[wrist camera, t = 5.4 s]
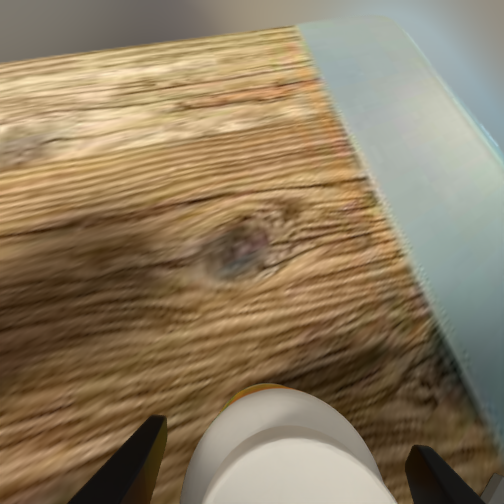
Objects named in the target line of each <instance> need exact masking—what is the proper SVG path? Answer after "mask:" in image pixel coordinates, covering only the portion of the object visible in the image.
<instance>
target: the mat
mask: <svg viewBox="0 0 504 504" xmlns="http://www.w3.org/2000/svg"><path fill="white" fill-rule="evenodd" d="M480 498H481V499H482V500H483V501H484V502H485V503H486V504H504V477H503V476H501V475H498V474H496V473H494V474H493V476H492V478H491V480H490V481H489V483H488V485H487V487H486V488H485V490H484V492H483V494H482V495H481V497H480Z"/></svg>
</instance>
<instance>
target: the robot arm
mask: <svg viewBox="0 0 504 504" xmlns="http://www.w3.org/2000/svg"><path fill="white" fill-rule="evenodd" d="M166 442H167V418H166V416H164V415H156V414H154V415H151V416H150V417H149V418H148V419H147V420H146V421H145V422H144V423H143V424H142V425H141V426H140V427H139V428H138V429H137V430H136V431H135V433H134V434H133V435H132V436H131V437H130V438H129V439H128V440H127V441H126V442H125V443H124V444H123V445H122V446H121V447H120V448H119V449H118V450H117V451H116V452H115V453H114V455H113V456H112V457H111V458H110V459H109V460H108V461H107V462H106V463H105V464H104V465H103V466H102V467H101V468H100V469H99V470H98V471H97V472H96V473H95V474H94V475H93V477H92V478H91V479H90V480H89V481H88V482H87V483H86V484H85V485H84V486H83V487H82V488H81V489H80V490H79V491H78V492H77V493H76V494H75V495H74V496H73V497H72V499H71V500H70V501H69V502H68V503H67V504H150V501H151V498H152V494H153V491H154V487H155V483H156V480H157V476H158V472H159V469H160V465H161V461H162V458H163V454H164V450H165V447H166ZM405 472H406V476H407V480H408V483H409V487H410V491H411V495H412V499H413V502H414V504H486V503H485V502H484V501H483V500H482V499H481V498H480V497H479V496H478V495H477V494H476V493H475V492H474V491H473V490H472V489H471V488H470V487H469V486H468V485H467V484H466V483H465V482H464V481H463V479H462V478H461V477H460V476H459V475H458V474H457V473H456V472H455V471H454V470H453V469H452V468H451V467H450V466H449V465H448V464H447V463H446V462H445V461H444V460H443V459H442V458H441V457H440V456H439V455H438V454H437V453H436V452H435V451H434V450H433V449H432V448H431V447H429V446H424V445H414V446H413V447H412V449H411V451H410V453H409V456H408V458H407V460H406V463H405Z"/></svg>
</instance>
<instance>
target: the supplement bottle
mask: <svg viewBox="0 0 504 504" xmlns="http://www.w3.org/2000/svg"><path fill="white" fill-rule="evenodd" d="M180 504H397V502H396V500H395V498H394V497H393V495H392V494H391V493H390V491H389V490H388V488H387V487H386V486H385V484H384V483H383V479H382V477H381V474H380V472H379V469H378V467H377V464H376V462H375V460H374V458H373V456H372V454H371V452H370V450H369V449H368V447H367V445H366V444H365V442H364V440H363V439H362V437H361V436H360V435H359V433H358V432H357V431H356V430H355V428H354V427H353V426H352V425H351V424H350V423H349V422H348V421H347V420H346V418H345V417H344V416H342V415H341V414H340V413H339V412H338V411H336V410H335V409H334V408H333V407H331V406H330V405H328V404H327V403H325V402H323V401H322V400H320V399H318V398H316V397H314V396H312V395H310V394H308V393H305V392H303V391H299V390H296V389H293V388H289V387H286V386H282V385H279V384H273V383H261V384H256V385H253V386H250V387H247V388H245V389H243V390H241V391H240V392H238V393H237V394H236V395H234V396H233V397H232V398H231V399H230V400H229V401H228V402H227V403H226V404H225V406H224V407H223V408H222V410H221V411H220V413H219V414H218V415H217V417H216V418H215V419H214V421H213V422H212V423H211V424H210V426H209V427H208V428H207V430H206V432H205V433H204V435H203V436H202V438H201V440H200V441H199V443H198V445H197V447H196V449H195V451H194V453H193V455H192V458H191V460H190V463H189V466H188V468H187V471H186V475H185V478H184V482H183V487H182V492H181V498H180Z"/></svg>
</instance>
